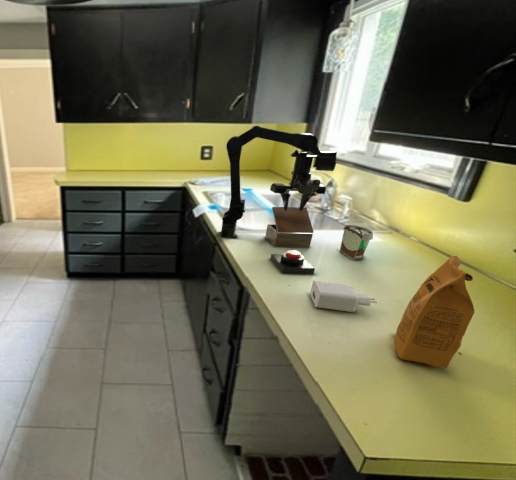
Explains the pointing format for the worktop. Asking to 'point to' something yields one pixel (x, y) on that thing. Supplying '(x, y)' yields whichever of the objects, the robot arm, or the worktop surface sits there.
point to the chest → (287, 238)
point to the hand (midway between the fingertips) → (293, 210)
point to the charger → (337, 296)
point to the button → (293, 254)
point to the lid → (292, 220)
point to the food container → (355, 241)
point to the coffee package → (436, 317)
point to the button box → (292, 264)
